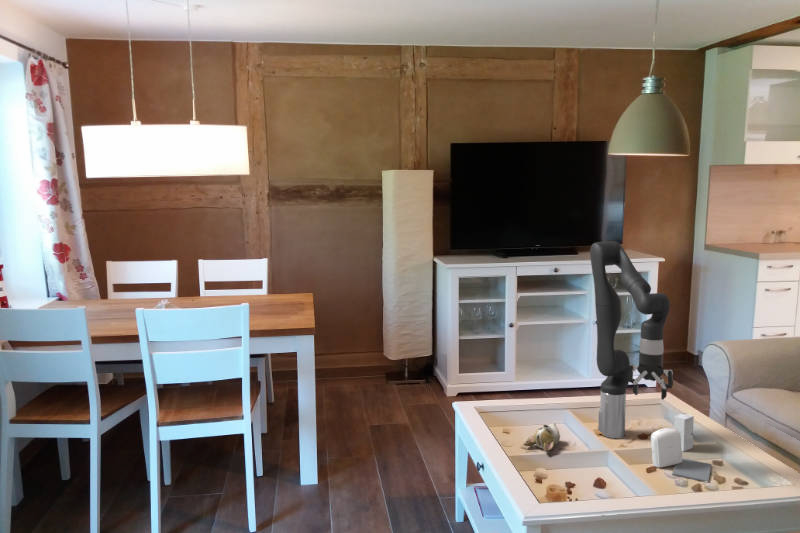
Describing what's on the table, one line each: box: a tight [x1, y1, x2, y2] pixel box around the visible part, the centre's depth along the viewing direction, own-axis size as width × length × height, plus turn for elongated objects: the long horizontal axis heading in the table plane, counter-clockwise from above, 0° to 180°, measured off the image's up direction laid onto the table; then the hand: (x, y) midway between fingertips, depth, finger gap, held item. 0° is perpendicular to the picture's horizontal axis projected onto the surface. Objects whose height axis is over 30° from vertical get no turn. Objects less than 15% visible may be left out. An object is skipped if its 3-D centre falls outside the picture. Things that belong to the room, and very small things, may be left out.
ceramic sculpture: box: [523, 422, 561, 453], centre depth 216 cm, size 11×9×15 cm
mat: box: [671, 457, 712, 482], centre depth 196 cm, size 10×14×1 cm
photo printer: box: [650, 427, 683, 469], centre depth 199 cm, size 10×4×12 cm, turn 105°
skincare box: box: [673, 412, 695, 452], centre depth 213 cm, size 6×4×12 cm
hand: (649, 396), depth 201 cm, fingers open, 8 cm apart
